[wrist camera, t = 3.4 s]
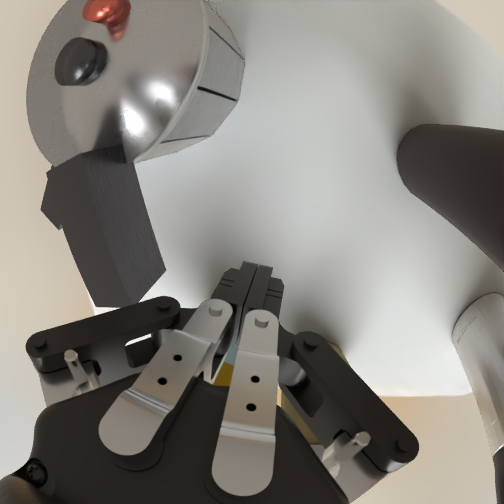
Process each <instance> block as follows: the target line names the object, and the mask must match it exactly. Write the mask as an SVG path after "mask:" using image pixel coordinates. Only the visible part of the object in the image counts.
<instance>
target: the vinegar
mask: <svg viewBox="0 0 504 504" xmlns="http://www.w3.org/2000/svg"><path fill="white" fill-rule="evenodd" d="M397 162H398V170H399V174H400V176H401V178H402V181H403V183H404V185H405V186H406V187H407V188H408V190H409V191H410V192H411V193H412V194H413V195H415V196H416V197H418V198H419V199H420V200H422V201H423V202H424V203H426V204H427V205H428V206H430V207H431V208H432V209H434V210H435V211H436V212H438V213H439V214H440V215H441V216H443V217H444V218H445V219H446V220H448V221H449V222H450V223H451V224H453V225H454V226H455V227H456V228H457V229H458V230H460V231H461V232H462V233H463V234H464V235H465V236H467V237H468V238H469V239H470V240H471V241H472V242H473V243H475V244H476V245H477V246H478V247H479V248H480V249H481V250H482V251H483V252H484V253H485V254H486V255H487V256H488V257H489V258H491V259H492V260H493V261H494V262H495V263H496V264H497V265H498V266H499V267H500V268H501V269H502V270H503V272H504V131H503V130H496V129H488V128H480V127H470V126H457V125H440V124H423V125H419V126H417V127H415V128H413V129H411V130H410V131H409V132H408V133H407V134H406V136H405V137H404V138H403V140H402V142H401V144H400V146H399V150H398V157H397Z"/></svg>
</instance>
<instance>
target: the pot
mask: <svg viewBox="0 0 504 504" xmlns="http://www.w3.org/2000/svg"><path fill="white" fill-rule="evenodd" d="M202 2H203V4H204V6H205V9H206V13H207V16H208V23H209V48H208V54H207V61H206V64H205V68H204V71H203V75H202V78H201V80H200V83H199V85H198V87H197V90H196V93H195V94H194V96H193V98H192V100H191V102H190V104H189V106H188V108H187V109H186V111H185V112H184V114H183V115H182V117H181V118H180V120H179V122H178V123H177V124H176V126H175V127H174V128H173V129H172V130H171V132H170V133H169V134H168V135H167V137H166V138H165V139H164V140H163V141H162V142H161V143H160V144H159V145H158V146H157V147H156V148H154V149H153V150H152V151H151V152H149V153H148V154H147V155H146V156H145V157H143V158H141V159H140V160H138V161H137V162H135V163H138V162H142V161H145V160H149V159H152V158H156V157H160V156H164V155H167V154H171V153H175V152H178V151H180V150H182V149H185V148H187V147H189V146H191V145H193V144H195V143H197V142H199V141H201V140H204V139H206V138H208V137H210V136H211V135H213V134H214V133H215V131H216V130H217V129H218V127H219V126H220V125H221V123H222V122H223V121H224V119H225V118H226V117H227V116H228V114H229V113H230V112H231V111H232V109H233V108H234V107H235V106H236V104H237V103H238V102H236V101H235V100H239V97H240V90H241V84H242V78H243V72H244V66H245V62H244V61H243V60H245V59H244V57H243V55H242V53H241V50H240V48H239V46H238V44H237V42H236V40H235V38H234V36H233V34H232V32H231V30H230V28H229V27H228V26H227V25H226V24H225V23H224V22H223V20H222V19H221V18H220V17H219V16H218V15H217V14H216V13H215V12H214V11H213V10H212V9H211V7H210V6H209V5H208V4H207V3H206V2H205V1H204V0H202ZM135 163H134V164H135ZM53 168H54V166H53V165H52V167H51V169H53ZM41 211H42V212H43V213H44V214H45V216H46V217H47V218H48V219H49V220H50V221H51V222H52V223H53V224H54V225H55V227H56V228H57V229H58V230H60V229H62V225H61V222H60V219H59V216H58V213H57V210H56V207H55V203H54V200H53V196H52V193H51V189H50V186H49V182H48V181H47V185H46V189H45V193H44V197H43V201H42V206H41Z"/></svg>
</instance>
